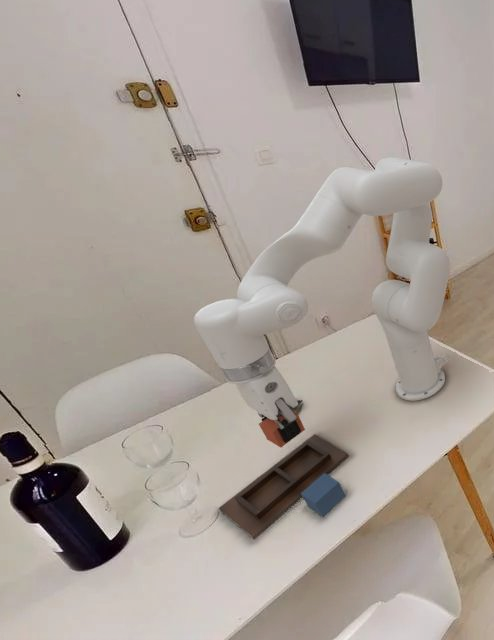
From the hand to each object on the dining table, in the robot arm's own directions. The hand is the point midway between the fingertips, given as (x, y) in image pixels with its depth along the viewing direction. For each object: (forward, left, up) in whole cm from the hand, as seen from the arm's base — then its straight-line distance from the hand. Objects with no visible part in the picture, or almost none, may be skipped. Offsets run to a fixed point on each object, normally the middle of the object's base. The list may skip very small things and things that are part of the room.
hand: (285, 431), depth 83 cm
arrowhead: (-7, -19, -12) cm, 23 cm away
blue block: (+3, +11, -12) cm, 17 cm away
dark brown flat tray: (+4, 0, -12) cm, 12 cm away
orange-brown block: (0, 0, -1) cm, 1 cm away
